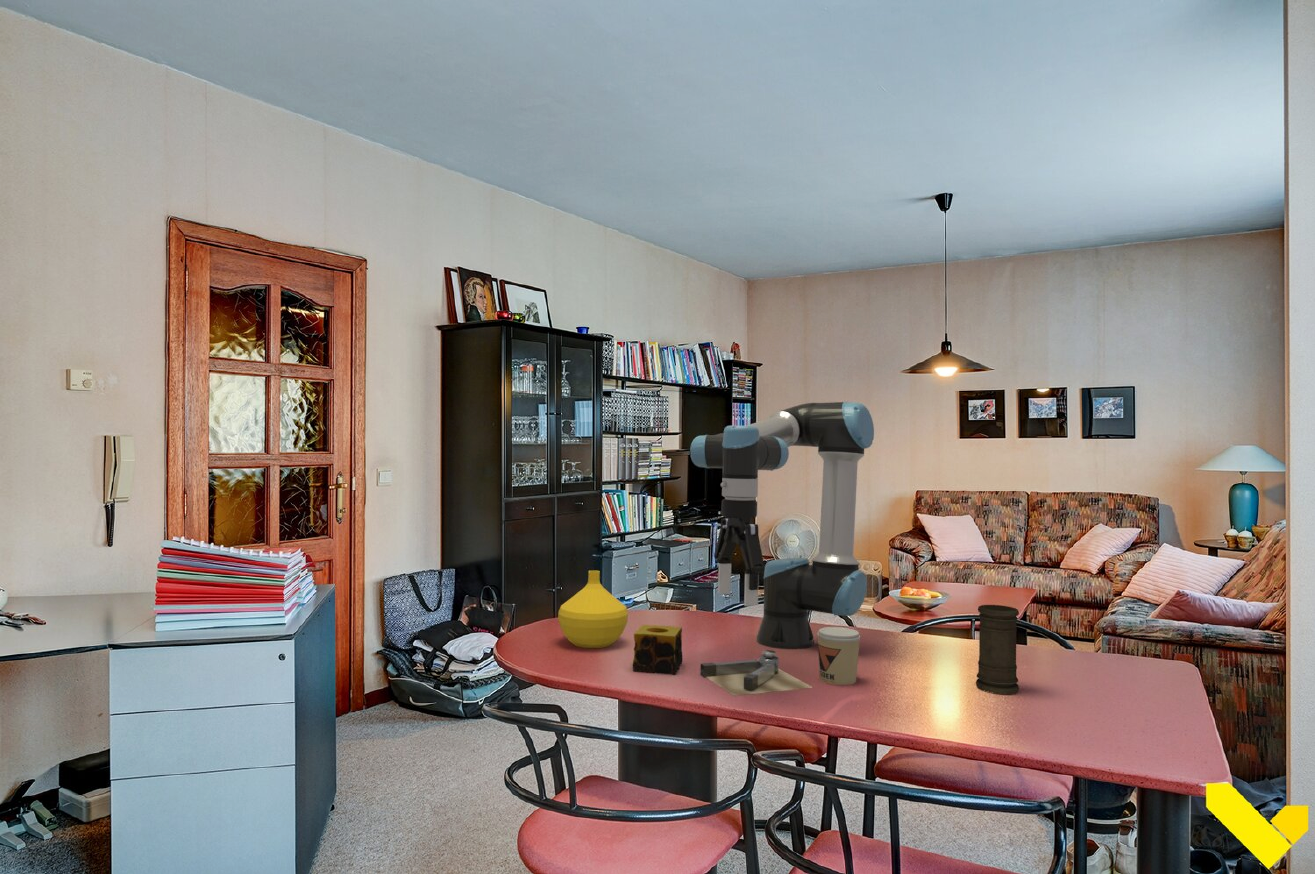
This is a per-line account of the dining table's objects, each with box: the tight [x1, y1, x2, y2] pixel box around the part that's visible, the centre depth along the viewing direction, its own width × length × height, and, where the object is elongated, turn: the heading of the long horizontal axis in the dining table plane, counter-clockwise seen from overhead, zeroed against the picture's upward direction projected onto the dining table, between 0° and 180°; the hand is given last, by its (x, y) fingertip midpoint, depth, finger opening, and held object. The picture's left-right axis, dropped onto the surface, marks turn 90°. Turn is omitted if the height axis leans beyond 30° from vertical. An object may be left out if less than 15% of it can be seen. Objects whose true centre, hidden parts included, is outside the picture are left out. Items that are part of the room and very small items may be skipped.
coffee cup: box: [816, 626, 861, 686], centre depth 182 cm, size 9×9×12 cm
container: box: [975, 604, 1020, 695], centre depth 182 cm, size 9×9×18 cm
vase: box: [557, 570, 629, 649], centre depth 215 cm, size 18×18×19 cm
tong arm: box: [744, 649, 777, 690], centre depth 181 cm, size 18×4×4 cm, turn 151°
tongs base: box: [699, 655, 780, 678], centre depth 185 cm, size 18×5×3 cm, turn 111°
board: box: [706, 668, 814, 697], centre depth 181 cm, size 19×17×1 cm
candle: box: [632, 624, 684, 676], centre depth 190 cm, size 10×10×10 cm
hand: (737, 599), depth 172 cm, fingers open, 13 cm apart
